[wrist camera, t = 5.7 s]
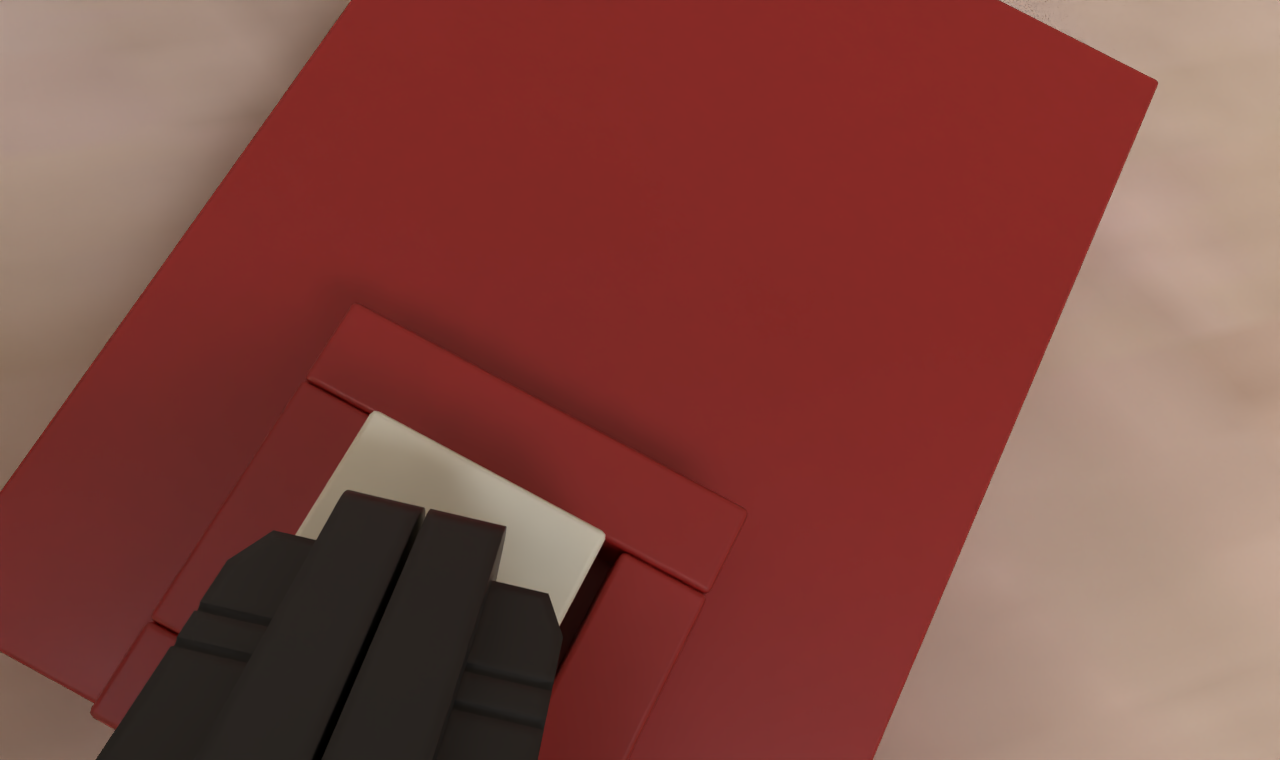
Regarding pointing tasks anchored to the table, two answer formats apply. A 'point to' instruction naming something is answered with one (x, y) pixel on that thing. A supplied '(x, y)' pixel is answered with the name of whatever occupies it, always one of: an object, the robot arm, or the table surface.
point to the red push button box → (607, 339)
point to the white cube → (465, 505)
